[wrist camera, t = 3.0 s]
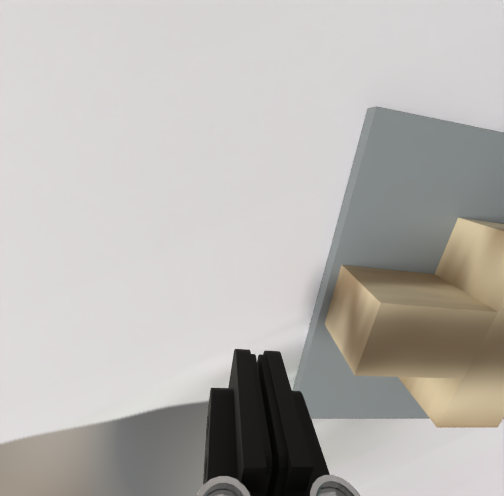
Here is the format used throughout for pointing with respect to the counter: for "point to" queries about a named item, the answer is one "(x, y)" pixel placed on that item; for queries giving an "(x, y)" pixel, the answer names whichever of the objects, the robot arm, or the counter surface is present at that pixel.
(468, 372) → the t block
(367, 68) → the counter surface
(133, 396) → the counter surface
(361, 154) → the board
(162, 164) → the counter surface
